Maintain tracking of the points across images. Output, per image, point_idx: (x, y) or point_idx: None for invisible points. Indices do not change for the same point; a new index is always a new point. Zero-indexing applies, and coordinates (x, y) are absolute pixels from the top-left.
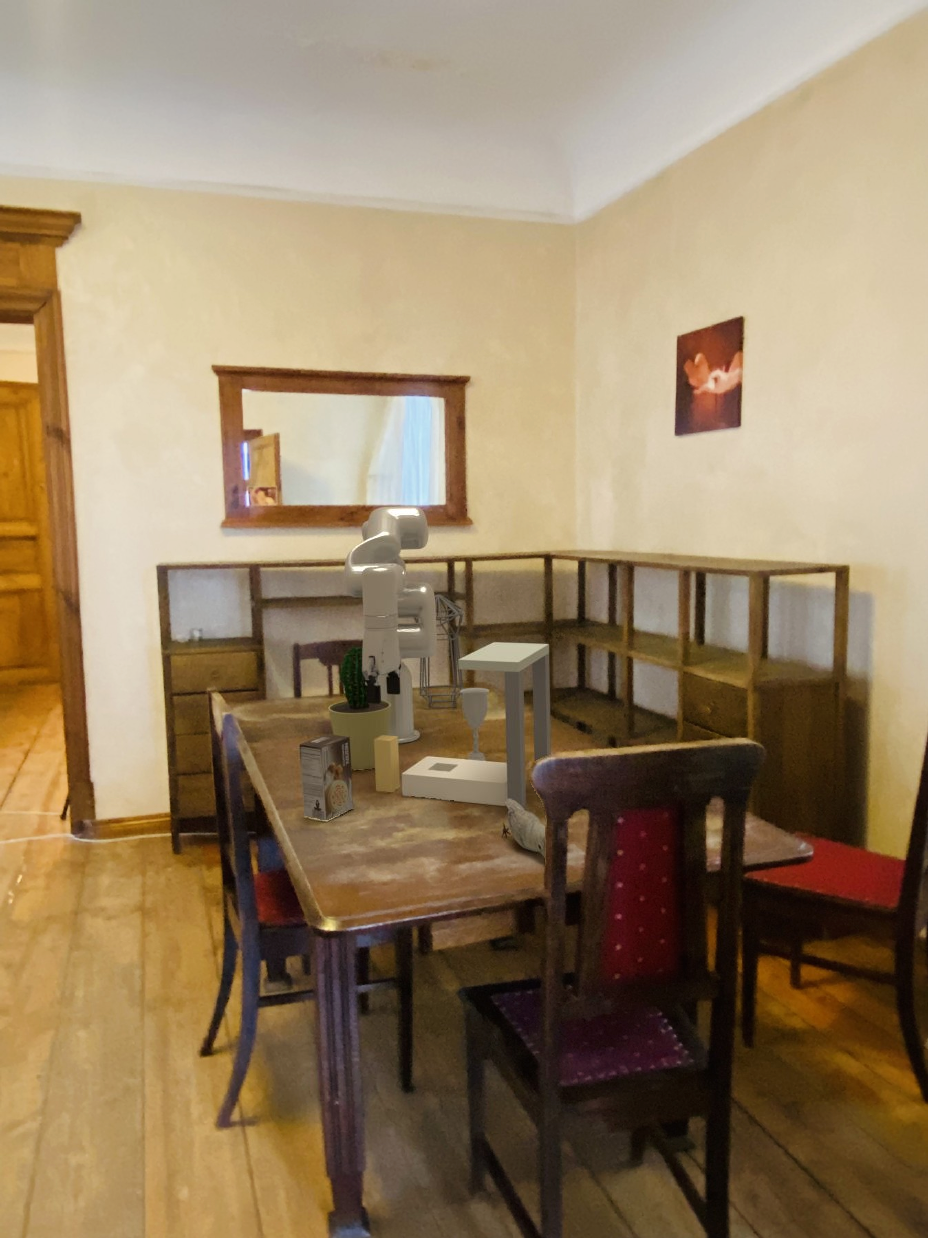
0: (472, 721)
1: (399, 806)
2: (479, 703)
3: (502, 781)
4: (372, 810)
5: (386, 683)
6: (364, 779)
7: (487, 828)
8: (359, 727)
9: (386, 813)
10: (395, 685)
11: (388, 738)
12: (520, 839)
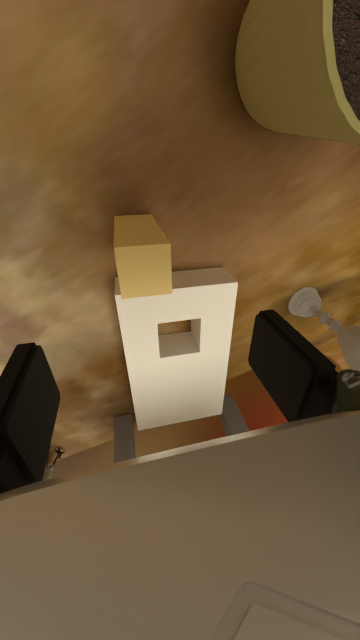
0: (343, 346)
1: (63, 299)
2: None
3: (144, 426)
4: (16, 268)
5: (293, 339)
6: (176, 140)
7: (57, 422)
8: (291, 60)
9: (20, 298)
10: (271, 380)
11: (143, 281)
12: None
